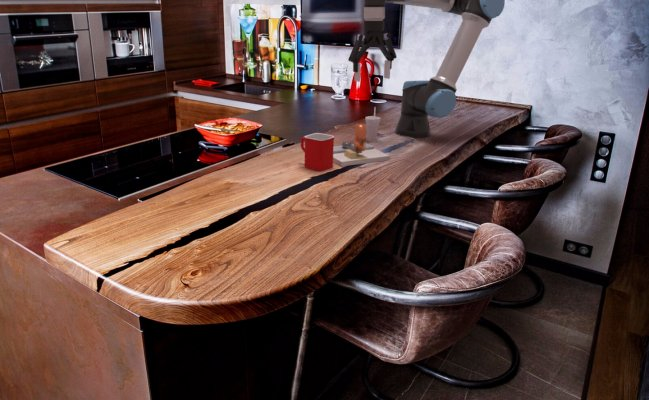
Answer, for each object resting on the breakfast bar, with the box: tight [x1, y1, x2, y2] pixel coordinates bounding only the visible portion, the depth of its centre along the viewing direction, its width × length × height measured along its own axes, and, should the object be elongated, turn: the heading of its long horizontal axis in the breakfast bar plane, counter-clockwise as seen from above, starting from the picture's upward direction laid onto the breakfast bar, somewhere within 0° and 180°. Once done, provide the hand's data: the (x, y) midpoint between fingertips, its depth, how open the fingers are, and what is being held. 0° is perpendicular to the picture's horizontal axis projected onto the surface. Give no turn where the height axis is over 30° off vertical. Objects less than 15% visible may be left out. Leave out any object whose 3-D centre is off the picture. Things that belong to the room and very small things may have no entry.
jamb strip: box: [333, 142, 375, 154], centre depth 185 cm, size 20×6×2 cm, turn 118°
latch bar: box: [341, 123, 367, 153], centre depth 178 cm, size 13×4×10 cm, turn 29°
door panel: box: [333, 148, 391, 167], centre depth 178 cm, size 20×10×4 cm, turn 118°
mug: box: [300, 132, 335, 172], centre depth 168 cm, size 12×8×11 cm
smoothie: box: [365, 106, 382, 143], centre depth 202 cm, size 6×6×14 cm
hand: (372, 79), depth 186 cm, fingers open, 13 cm apart
